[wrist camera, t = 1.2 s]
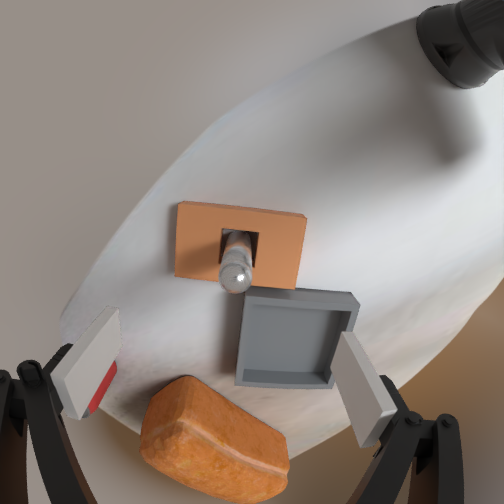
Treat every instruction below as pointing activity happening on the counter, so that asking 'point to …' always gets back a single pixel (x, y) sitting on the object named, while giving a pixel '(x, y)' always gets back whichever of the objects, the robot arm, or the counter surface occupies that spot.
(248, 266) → the pin
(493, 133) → the counter surface
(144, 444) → the bread
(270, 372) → the tray
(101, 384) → the beer can
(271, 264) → the orange block with hole
